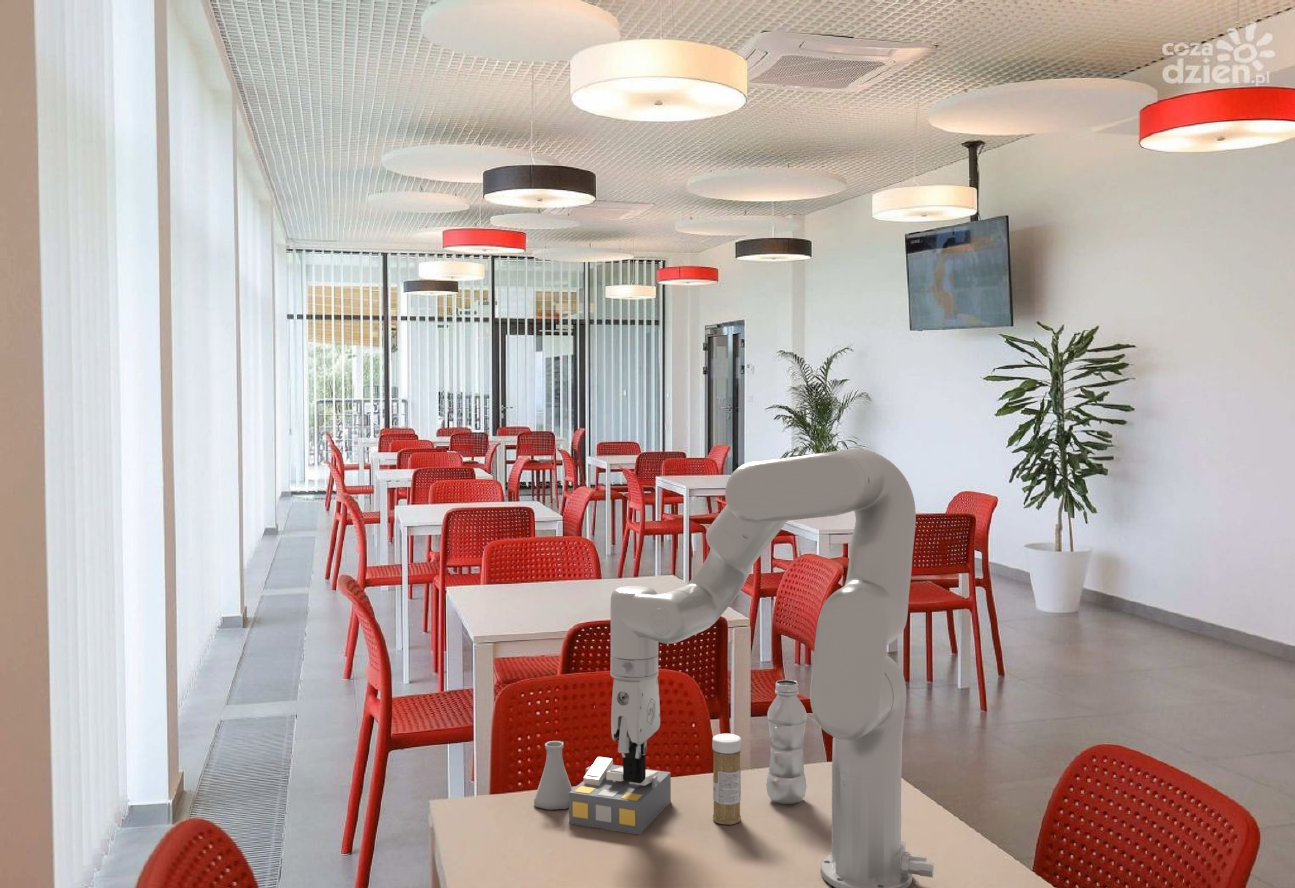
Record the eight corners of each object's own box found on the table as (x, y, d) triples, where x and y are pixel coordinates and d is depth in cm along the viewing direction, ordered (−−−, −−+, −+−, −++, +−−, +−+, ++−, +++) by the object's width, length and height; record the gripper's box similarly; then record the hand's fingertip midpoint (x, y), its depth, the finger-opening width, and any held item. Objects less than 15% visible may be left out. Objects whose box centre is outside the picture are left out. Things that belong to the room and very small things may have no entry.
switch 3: (657, 778, 171) (658, 770, 171) (644, 785, 165) (645, 776, 165) (643, 776, 171) (643, 768, 172) (629, 783, 166) (629, 774, 166)
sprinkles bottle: (715, 813, 169) (714, 731, 169) (743, 815, 168) (743, 733, 168) (710, 824, 165) (710, 740, 164) (739, 827, 164) (739, 742, 163)
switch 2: (635, 776, 172) (635, 768, 172) (621, 781, 166) (621, 772, 167) (620, 774, 173) (621, 766, 173) (606, 779, 167) (606, 770, 168)
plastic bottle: (759, 798, 176) (758, 680, 175) (793, 791, 179) (793, 675, 178) (779, 811, 170) (779, 690, 169) (814, 804, 173) (814, 685, 172)
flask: (569, 813, 170) (569, 752, 170) (527, 809, 172) (526, 749, 171) (581, 796, 177) (581, 738, 177) (540, 793, 179) (540, 735, 178)
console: (671, 801, 174) (670, 762, 174) (639, 835, 161) (639, 792, 161) (604, 792, 179) (604, 754, 178) (568, 823, 165) (568, 782, 165)
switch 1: (613, 764, 174) (612, 757, 173) (599, 786, 168) (598, 778, 168) (598, 762, 174) (597, 755, 174) (584, 784, 169) (583, 776, 169)
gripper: (639, 680, 156) (639, 801, 157) (672, 656, 170) (672, 767, 171) (593, 675, 159) (593, 794, 160) (629, 652, 173) (629, 762, 173)
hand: (634, 780), depth 165 cm, fingers closed
